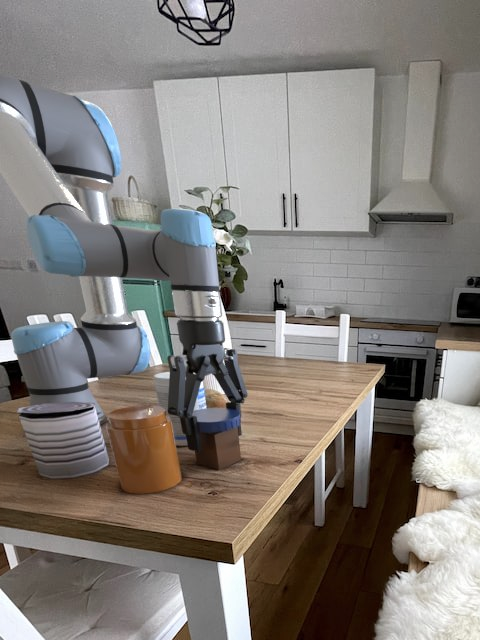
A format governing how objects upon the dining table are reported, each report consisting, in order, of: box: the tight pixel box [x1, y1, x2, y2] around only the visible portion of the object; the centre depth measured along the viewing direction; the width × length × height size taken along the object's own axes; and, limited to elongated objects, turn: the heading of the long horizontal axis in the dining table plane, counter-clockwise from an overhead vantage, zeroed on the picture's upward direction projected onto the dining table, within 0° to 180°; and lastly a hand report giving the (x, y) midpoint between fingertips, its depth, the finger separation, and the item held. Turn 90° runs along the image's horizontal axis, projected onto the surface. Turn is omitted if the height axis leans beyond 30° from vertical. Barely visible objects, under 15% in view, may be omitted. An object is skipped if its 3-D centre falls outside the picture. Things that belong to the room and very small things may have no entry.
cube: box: [194, 427, 242, 471], centre depth 77 cm, size 6×6×7 cm
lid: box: [192, 408, 242, 432], centre depth 75 cm, size 10×10×2 cm
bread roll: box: [204, 388, 229, 408], centre depth 110 cm, size 10×10×8 cm
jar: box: [105, 405, 183, 495], centre depth 67 cm, size 10×10×13 cm
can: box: [15, 402, 110, 480], centre depth 72 cm, size 11×11×12 cm
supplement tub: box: [153, 371, 207, 447], centre depth 86 cm, size 10×10×15 cm
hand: (216, 441), depth 77 cm, fingers closed on lid, 10 cm apart
